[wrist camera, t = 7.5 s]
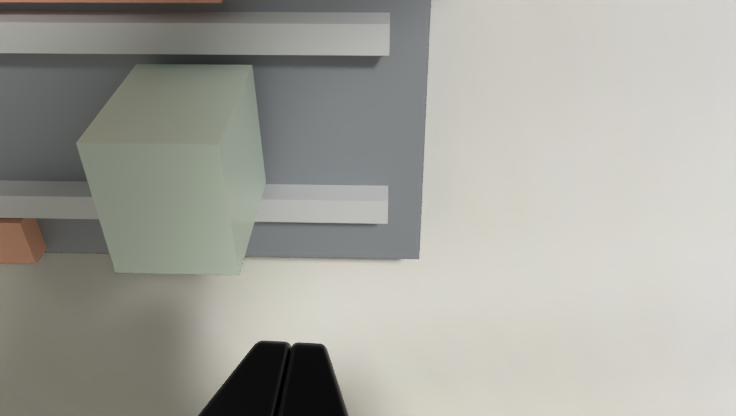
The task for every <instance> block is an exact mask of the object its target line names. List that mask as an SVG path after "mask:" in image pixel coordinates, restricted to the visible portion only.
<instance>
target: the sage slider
mask: <svg viewBox="0 0 736 416" xmlns="http://www.w3.org/2000/svg"><path fill="white" fill-rule="evenodd" d="M76 145H77V148H78V151H79V155H80V158H81V161H82V164H83V168H84V171H85V174H86V178H87V181H88V184H89V188H90V191H91V194H92V197H93V201H94V204H95V207H96V211H97V214H98V217H99V221H100V224H101V227H102V230H103V234H104V237H105V240H106V244H107V247H108V250H109V254H110V257H111V260H112V263H113V267H114V270H115V273H152V274H206V275H239V274H240V270H241V267H242V264H243V260H244V257H245V253H246V250H247V246H248V243H249V239H250V236H251V233H252V229H253V226H254V222H255V219H256V215H257V212H258V208H259V205H260V201H261V198H262V195H263V191H264V188H265V184H266V177H265V169H264V160H263V152H262V143H261V135H260V126H259V118H258V109H257V101H256V92H255V84H254V75H253V67H252V65H205V64H136V65H135V67H134V68H133V69H132V70H131V72H130V73H129V74H128V76H127V77H126V78H125V80H124V81H123V82H122V84H121V85H120V86H119V87H118V89H117V90H116V91H115V93H114V94H113V95H112V97H111V98H110V99H109V101H108V102H107V103H106V104H105V106H104V107H103V108H102V110H101V111H100V112H99V114H98V115H97V116H96V118H95V119H94V120H93V121H92V123H91V124H90V125H89V127H88V128H87V129H86V131H85V132H84V133H83V134H82V136H81V137H80V138H79V140H78V141H77V142H76Z"/></svg>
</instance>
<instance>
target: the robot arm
mask: <svg viewBox="0 0 736 416" xmlns="http://www.w3.org/2000/svg"><path fill="white" fill-rule="evenodd" d="M198 416H348V412H347V409H346V406H345V403H344V400H343V397H342V394H341V391H340V388H339V385H338V382H337V379H336V376H335V373H334V370H333V366H332V363H331V360H330V357H329V354H328V351H327V349H326V347H325V346H324V345H323V344H315V343H295V344H293V346H292V347H291V345H290V344H289V343H287V342H278V341H260V342H258V343H256V344H255V345H254V346H253V347H252V349H251V350H250V351H249V352H248V354H247V355H246V356H245V358H244V359H243V360H242V361H241V363H240V364H239V365H238V366H237V368H236V369H235V370H234V371H233V373H232V374H231V375H230V376H229V378H228V379H227V380H226V381H225V383H224V384H223V385H222V386H221V388H220V389H219V390H218V391H217V393H216V394H215V395H214V396H213V398H212V399H211V400H210V401H209V403H208V404H207V405H206V407H205V408H204V409H203V410H202V412H201V413H200V414H199V415H198Z"/></svg>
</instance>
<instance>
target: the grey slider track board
mask: <svg viewBox="0 0 736 416" xmlns="http://www.w3.org/2000/svg"><path fill="white" fill-rule="evenodd" d="M430 8H431V0H0V263H5V264H36V263H37V262H38V260H39V259H40V257H41V256H42V254H43V253H96V254H109V250H108V247H107V244H106V240H105V237H104V234H103V230H102V227H101V224H100V221H99V217H98V214H97V211H96V207H95V204H94V201H93V197H92V194H91V191H90V188H89V184H88V181H87V178H86V174H85V171H84V168H83V164H82V161H81V158H80V155H79V151H78V148H77V145H76V142H77V141H78V140H79V138H80V137H81V136H82V134H83V133H84V132H85V131H86V129H87V128H88V127H89V125H90V124H91V123H92V121H93V120H94V119H95V118H96V116H97V115H98V114H99V112H100V111H101V110H102V108H103V107H104V106H105V104H106V103H107V102H108V101H109V99H110V98H111V97H112V95H113V94H114V93H115V91H116V90H117V89H118V87H119V86H120V85H121V84H122V82H123V81H124V80H125V78H126V77H127V76H128V74H129V73H130V72H131V70H132V69H133V68H134V67H135V65H136V64H205V65H252V67H253V75H254V84H255V92H256V101H257V109H258V118H259V126H260V135H261V143H262V152H263V160H264V169H265V177H266V184H265V188H264V191H263V195H262V198H261V201H260V205H259V208H258V212H257V215H256V219H255V222H254V226H253V229H252V233H251V236H250V239H249V243H248V246H247V250H246V253H245V256H266V257H322V258H379V259H419V250H420V228H421V206H422V184H423V162H424V140H425V118H426V96H427V74H428V52H429V30H430Z"/></svg>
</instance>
